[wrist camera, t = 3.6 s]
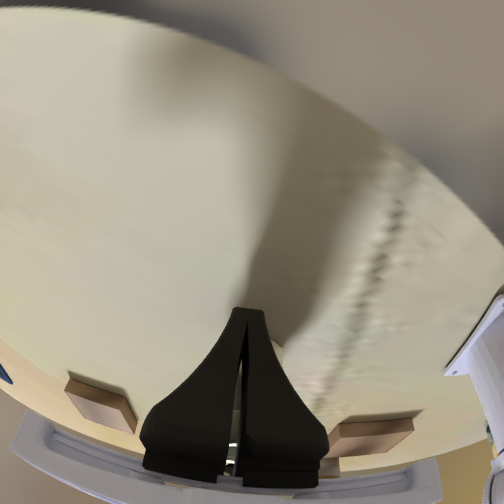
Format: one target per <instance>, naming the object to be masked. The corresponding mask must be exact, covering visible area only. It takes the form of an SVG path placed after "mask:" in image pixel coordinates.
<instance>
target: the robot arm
mask: <svg viewBox="0 0 504 504" xmlns="http://www.w3.org/2000/svg"><path fill="white" fill-rule="evenodd" d="M241 359H242V377H241V409H240V418H239V427H238V435H237V444H236V452H235V460H234V468H233V476H225V475H224V471H225V466H226V461H227V456H228V451H229V444H230V436H231V426H232V416H233V406H234V397H235V387H236V382H237V377H238V373H239V368H240V364H241ZM465 374H469V375H470V377H471V380H472V382H473V384H474V387H475V389H476V392H477V394H478V397H479V399H480V402H481V404H482V407H483V410H484V413H485V415H486V418H487V421H488V424H489V427H490V430H491V433H492V436H493V439H494V443H495V446H496V450H497V453H498V454H500V455H499V456H498V457H496V458H495V459H494V460H492V461H491V465H492V471H491V472H490V474H489V476H488V478H487V480H486V483H485V487H484V492H483V504H504V294H502V295H499V296H497V297H496V298H495V300H494V301H493V303H492V305H491V306H490V308H489V310H488V311H487V313H486V314H485V316H484V317H483V319H482V320H481V322H480V323H479V325H478V326H477V328H476V329H475V331H474V332H473V334H472V335H471V336H470V338H469V339H468V341H467V342H466V343H465V345H464V346H463V347H462V349H461V350H460V351H459V353H458V354H457V355H456V356H455V358H454V359H453V360H452V362H451V363H450V364H449V365H448V366H447V368H446V369H445V370H444V375H445V376H446V377H448V376H457V375H465ZM139 438H140V440H141V442H142V444H143V445H144V447H145V449H146V451H145V455H144V459H140V458H136V457H133V456H130V455H126V454H123V453H120V452H117V451H114V450H111V449H108V448H105V447H102V446H100V445H97V444H94V443H92V442H89V441H87V440H84V439H82V438H79V437H76V436H74V435H72V434H70V433H67V432H65V431H63V430H61V429H59V428H56V427H55V426H54V425H53V423H52V422H51V421H49V420H48V419H47V418H45V417H43V416H41V415H39V414H37V413H35V412H33V411H31V410H30V409H27V410H26V412H25V414H24V416H23V418H22V421H21V423H20V425H19V427H18V429H17V432H16V434H15V436H14V439H13V441H12V443H11V446H10V450H11V451H12V452H14V453H15V454H16V455H18V456H19V457H21V458H22V459H24V460H25V461H27V462H28V463H29V464H31V465H32V466H34V467H36V468H37V469H39V470H41V471H43V472H45V473H46V474H48V475H50V476H52V477H54V478H56V479H58V480H60V481H62V482H64V483H66V484H68V485H70V486H72V487H74V488H76V489H78V490H80V491H83V492H85V493H88V494H90V495H92V496H94V497H97V498H100V499H102V500H104V501H107V502H110V503H112V504H434V503H436V502H439V501H441V500H443V499H444V495H443V489H442V484H441V478H440V474H439V469H438V463H437V459H436V458H435V457H434V458H430V459H427V460H422V461H418V462H415V463H413V464H411V465H409V466H408V467H407V468H405V469H400V470H395V471H389V472H383V473H377V474H370V475H362V476H354V477H344V478H331V479H318V470H319V469H320V460H321V459H322V458H323V457H325V456H326V455H327V454H328V452H329V451H330V449H329V448H330V446H329V440H328V436H327V433H326V430H325V427H324V426H323V425H322V424H321V423H320V422H319V421H318V420H317V418H316V417H315V416H314V415H313V414H312V413H311V411H310V410H309V409H308V408H307V406H306V405H305V404H304V403H303V401H302V400H301V398H300V397H299V395H298V394H297V393H296V391H295V390H294V388H293V386H292V385H291V383H290V381H289V380H288V378H287V376H286V374H285V373H284V371H283V369H282V367H281V365H280V362H279V360H278V358H277V356H276V353H275V351H274V348H273V345H272V343H271V340H270V337H269V334H268V330H267V326H266V322H265V317H264V312H263V311H262V310H255V309H247V308H239V307H235V308H233V310H232V313H231V316H230V319H229V321H228V323H227V325H226V327H225V329H224V330H223V332H222V334H221V336H220V337H219V339H218V341H217V342H216V344H215V345H214V347H213V348H212V350H211V351H210V352H209V354H208V355H207V356H206V358H205V359H204V360H203V362H202V363H201V364H200V365H199V366H198V367H197V369H196V370H195V371H194V372H193V373H192V374H191V375H190V376H189V377H188V378H187V379H186V380H185V381H184V382H183V383H182V384H181V385H180V386H179V387H177V388H176V389H175V390H174V391H173V392H172V393H171V394H169V395H168V396H167V397H166V398H164V399H163V400H162V401H160V402H159V403H157V404H156V405H155V406H153V408H152V409H151V411H150V412H149V414H148V415H147V417H146V419H145V421H144V423H143V426H142V429H141V432H140V436H139ZM160 480H161V481H160ZM163 481H166V482H170V483H175V484H180V485H184V486H190V487H195V488H179V487H172V486H167V485H165V483H164V482H163ZM198 488H201V489H198ZM206 489H208V490H206ZM213 490H215V491H213ZM221 491H222V492H221ZM229 492H231V493H229ZM239 493H241V494H239ZM252 494H255V495H252ZM268 495H286V496H288V495H289V496H292V495H295V496H293V497H292V499H285V498H283V497H278V496H268Z"/></svg>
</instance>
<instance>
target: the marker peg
mask: <svg viewBox="0 0 504 504" xmlns="http://www.w3.org/2000/svg"><path fill="white" fill-rule="evenodd" d="M331 478H340V468H339V457H333V458H322V459H321V460H320V469H319V470H318V479H331Z"/></svg>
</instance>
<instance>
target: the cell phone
mask: <svg viewBox="0 0 504 504" xmlns="http://www.w3.org/2000/svg"><path fill="white" fill-rule="evenodd" d="M0 378H1V379H3V380H5V381H6V382H8V383H9V384H13V382H12V380H11V379H10V377H9V376H8V374H7V373H6V371H5V370H4V368H3V367H2V365H1V364H0Z"/></svg>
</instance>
